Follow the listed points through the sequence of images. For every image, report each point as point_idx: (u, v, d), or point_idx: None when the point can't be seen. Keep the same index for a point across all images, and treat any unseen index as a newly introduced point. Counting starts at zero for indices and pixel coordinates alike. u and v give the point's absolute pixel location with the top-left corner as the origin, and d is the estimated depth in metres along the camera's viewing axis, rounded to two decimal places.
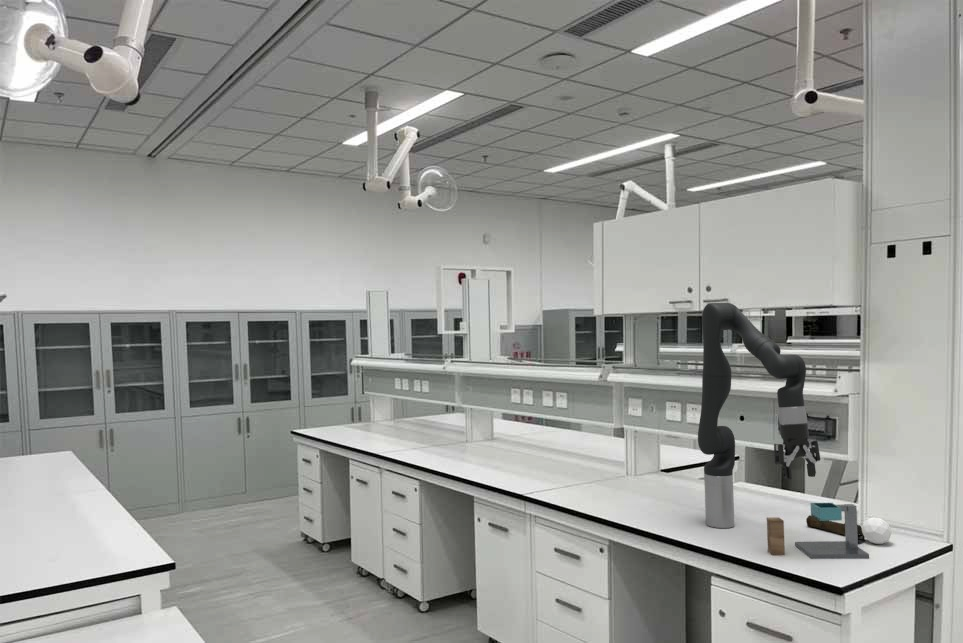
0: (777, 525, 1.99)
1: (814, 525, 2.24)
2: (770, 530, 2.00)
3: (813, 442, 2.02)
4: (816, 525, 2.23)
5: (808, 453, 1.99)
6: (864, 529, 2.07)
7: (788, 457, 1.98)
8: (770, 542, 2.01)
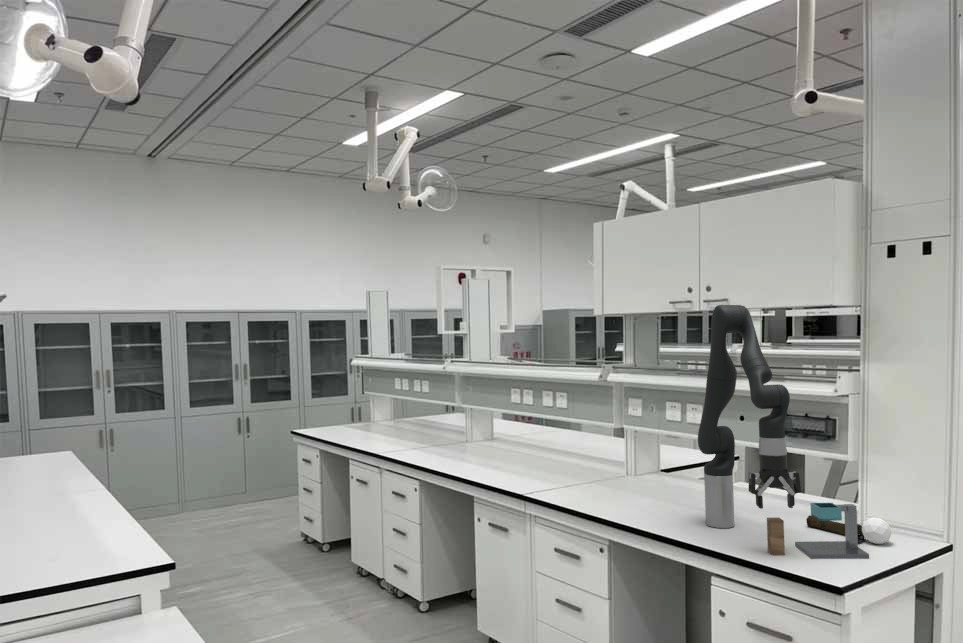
0: (777, 525, 1.99)
1: (814, 525, 2.24)
2: (770, 530, 2.00)
3: (794, 474, 2.00)
4: (816, 525, 2.23)
5: (785, 485, 1.99)
6: (864, 529, 2.07)
7: (761, 487, 2.00)
8: (770, 542, 2.01)
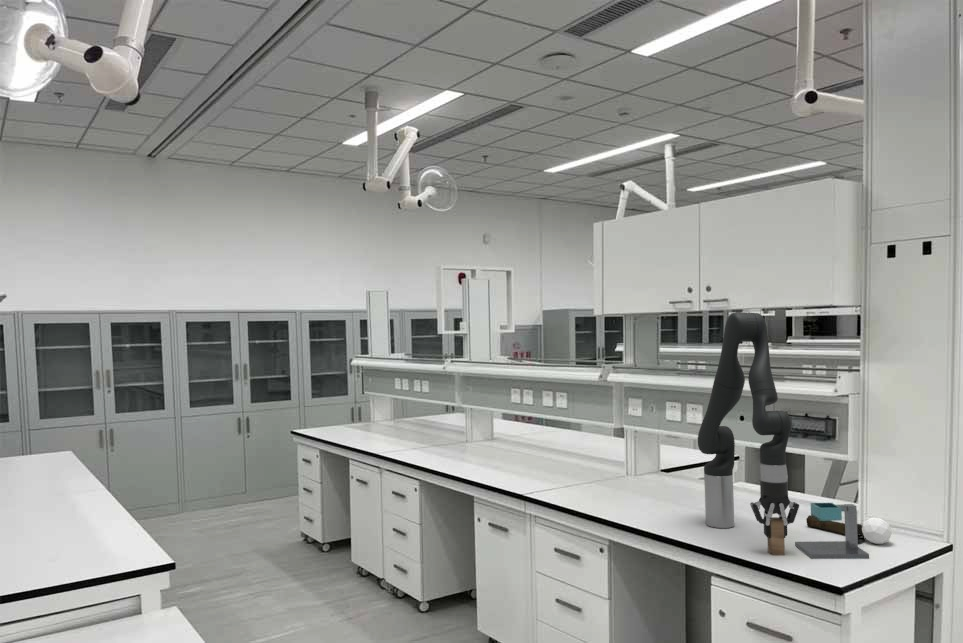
0: (777, 525, 1.99)
1: (814, 525, 2.24)
2: None
3: (794, 504, 2.00)
4: (816, 525, 2.23)
5: (782, 512, 1.99)
6: (864, 529, 2.08)
7: (766, 516, 2.00)
8: (770, 542, 2.01)
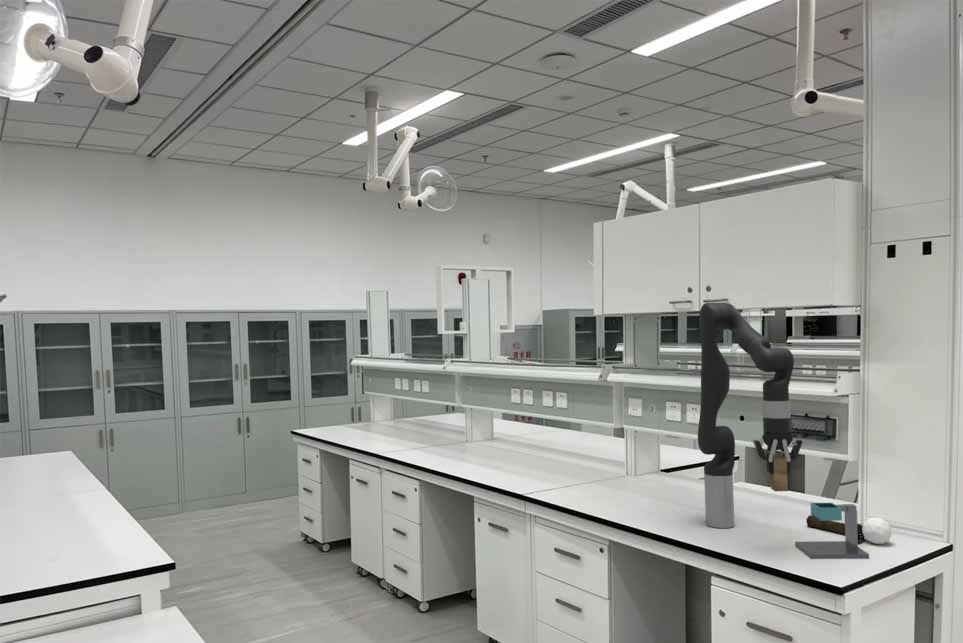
0: (779, 461, 2.00)
1: (814, 525, 2.24)
2: (773, 467, 2.00)
3: (797, 441, 2.00)
4: (816, 525, 2.23)
5: (785, 449, 2.00)
6: (864, 529, 2.08)
7: (769, 452, 2.01)
8: (773, 479, 2.01)
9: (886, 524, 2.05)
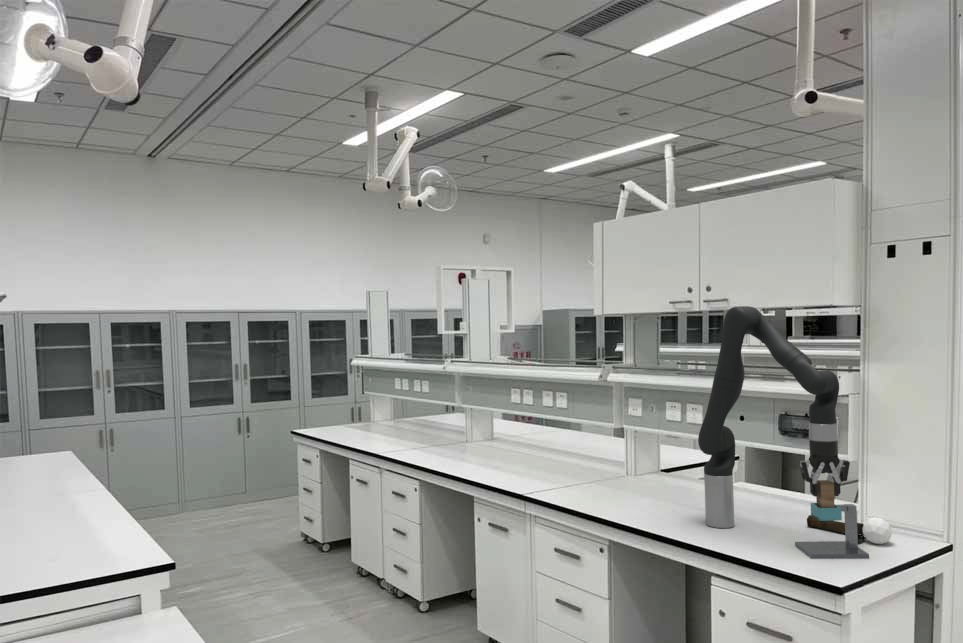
0: (827, 487, 1.99)
1: (815, 525, 2.24)
2: (820, 493, 2.00)
3: (844, 462, 2.00)
4: (817, 525, 2.23)
5: (834, 471, 1.99)
6: (864, 529, 2.08)
7: (814, 474, 2.01)
8: (819, 504, 2.01)
9: (886, 524, 2.05)
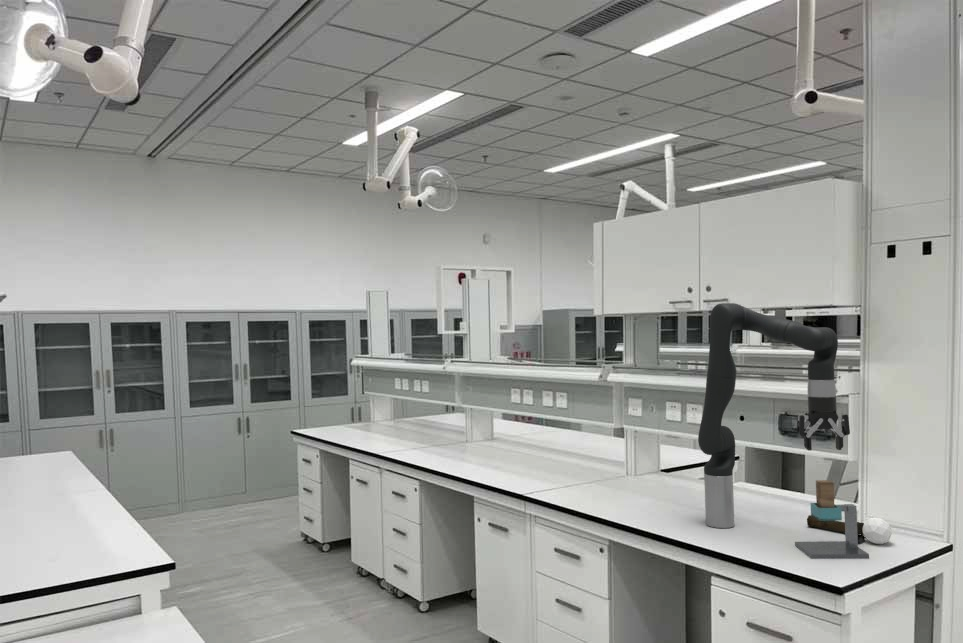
0: (827, 487, 1.99)
1: (815, 525, 2.24)
2: (820, 493, 2.00)
3: (843, 416, 2.00)
4: (817, 525, 2.23)
5: (834, 426, 2.00)
6: (864, 529, 2.08)
7: (810, 429, 2.01)
8: (819, 504, 2.01)
9: (886, 524, 2.05)
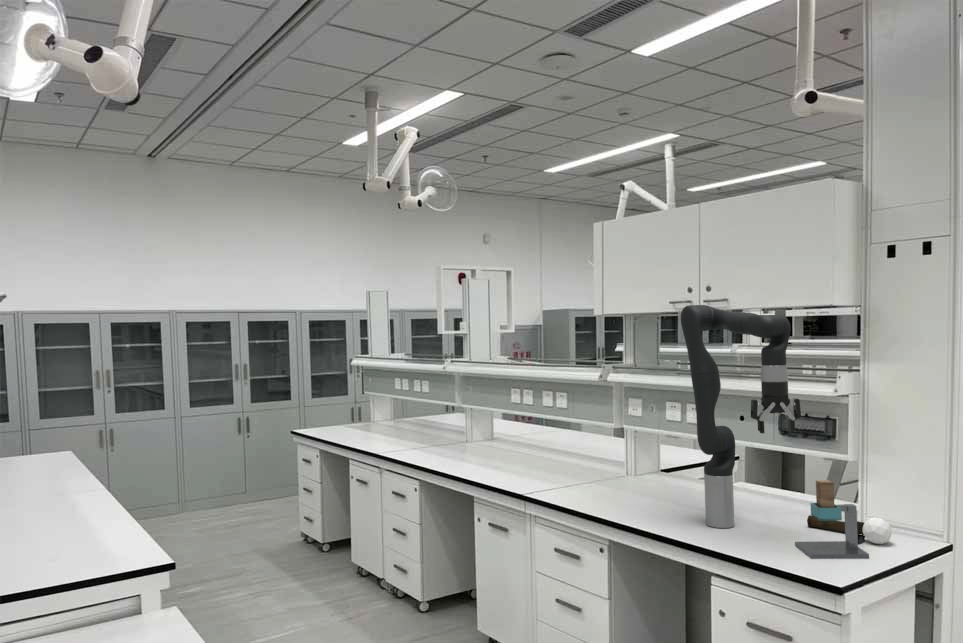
0: (827, 487, 1.99)
1: (816, 525, 2.24)
2: (820, 493, 2.00)
3: (794, 400, 2.08)
4: (818, 525, 2.23)
5: (786, 410, 2.07)
6: (864, 529, 2.08)
7: (763, 412, 2.09)
8: (819, 504, 2.01)
9: (886, 524, 2.05)
